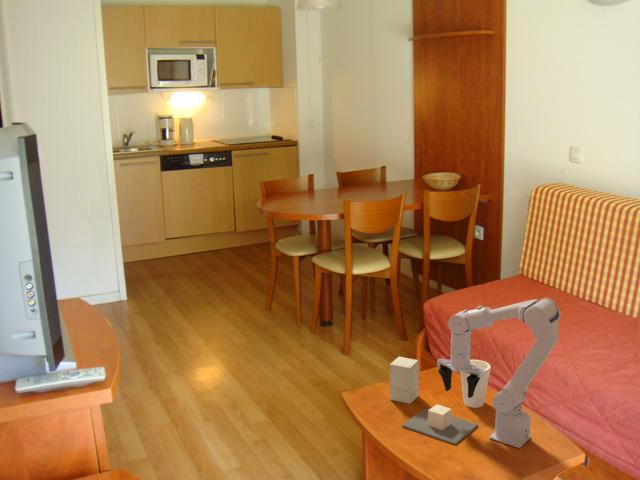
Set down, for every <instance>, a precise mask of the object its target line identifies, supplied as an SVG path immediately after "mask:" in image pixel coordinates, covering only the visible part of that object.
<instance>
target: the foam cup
mask: <svg viewBox="0 0 640 480" xmlns="http://www.w3.org/2000/svg"><path fill="white" fill-rule="evenodd" d="M470 364H471V365H473V366H475V367H477V368H480V369H483V370H484V376H483V377H481V378H480V380H479V381H478V383H477V385H476V388H475V391H474V395H473V396H472V397H471V398H468V383H467V377H468V376H470V374H468V373H464V372H460V371H459V373H460V380H461V391H462V398H463V404H464V405H465V406H467V407H468V408H473V409H474V408H475V409H477V408H481V407H483V406H484V405H485V400H486V394H487V391H488V390H487V389H488V383H489V378H490V375H491V364H490V363H488V362H487V361H484V360H480V359H470Z"/></svg>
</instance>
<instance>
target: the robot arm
mask: <svg viewBox="0 0 640 480" xmlns="http://www.w3.org/2000/svg"><path fill="white" fill-rule="evenodd" d="M561 316H562V313H561V312H560V308H559V306H558V304H557V303H556V302H555V301H554V300H553V299H552V298H549V297H544V298H541V299H539V298H538V299H535V298H534V299H530V300H525V301H521V302H517V303H514V304H510V305H509V304H508V305H506V306H502V307H498V308H494V309H492V308H491V307H489V306H483V305H478V306H477V307H476V308H474V309H470V310H468V309H467V308H466V309H464V310H461V311H459V312H457V313H455V314H454V315H452V316H450V317H449V319H448V322H447V326H448V329H449V330H450V359H446V358H439V359H437V362H436V365H437V367H439V369H438V374H439V375H440V377H441V379H442V381H443V385H444V390H445V392H448V391H450V390H451V389H452V375H453V372H454V373H458V372H459V373H460V372H464V373H468V374H470V376H468V377H467V383H468V398H471V397H472V396H473V395H474V391H475V388H476V385H477V383H478V381H479V380H480V378H481V377H483V376H484V370H483V369H480V368H477V367H475V366H473V365H471V364H470V360H471V345H472V344H471V342H472V341H471V340H472V338H471V337H472V331H475V330H480V329H484V328H489V327H492V326H493V325H494V323H495V322H496V321H497V322H499V321H502V320H503V321H505V320H509V319H515V318H517V320H519V321H520V322H521V323H524V322H525V324H526V326H527V327H528V328H529V330H530V331H531V333H532V335H534V337H535V339H536V340H535V342H534V343H533V345H532V347H531V348H530V350H529V351H528V352H527V354H526V355H525V357H524V359H523V360H522V361H521V362H520V364H519V366H518V368H517V369H516V371H515V372H514V374H513V375H512V377H511V379H510V380H509V381H508V382H507V384H505V386H503V388H502V390H500V391H499V392H497V393H495V394H494V395H493V398H492V405H493V408H494V409H495V421H494V422H495V425H494V427H495V428H494V432H493V433H491V435H489V439H491V440H493V441H496V442H499V443H502V444H505V445H509V446H512V447H514V448H516V449H517V448H518V449H520V448H521V447H523V445H524V444H526V443H527V441H529V440H530V438H531V437H532V436H531V435H530V434H531V421H532V419H531V415H530V414H528V413H527V412H525V411H524V410H523V408H522V403H523V402H524V401H525V400H526V397H527V391H528V389H529V385H530V384H531V382H532V381H533V379H534V377H535V376H536V375H537V373H538V372H539V370H540V369H541V368H542V366H543V364H544V363H545V361H546V360H547V358H548V357H549V356H550V354H551V352H552V351H553V349H554V348H555V346H557V344H558V342H559V339H560V320H561Z"/></svg>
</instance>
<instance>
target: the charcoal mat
mask: <svg viewBox="0 0 640 480" xmlns="http://www.w3.org/2000/svg"><path fill="white" fill-rule="evenodd" d="M429 409H430V408H427V407H426V408H424V409H422V410H421V411H419V412H418V413H416V414H415V415H414V416H411V418H410V419H408V420H406V421H405V422H404V423H402V424H401V427H402V428H405V429H407V430H410V431H413V432H416V433H418V434H419V433H420V434H422V435H425V436H427V437H430V438H433V439H436V440H439V441H442V442H445V443H447V444H451V445H454V446H456V445H457V444H459V443H460V442H461V441H463V440H464V439H465V438H466V437H467V436H468V435H469V434H471V433H472V432H473V431H474V430H476V429H477V427H478V426H479V425H478V423H475V422H472V421H468V420H466V419H463V418H459V417H457V416H453V415H451V425H449V426H448V427H447V428H445V429H444V430H440V429H437V428H434V427H431V426H428V410H429Z"/></svg>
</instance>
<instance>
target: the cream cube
mask: <svg viewBox="0 0 640 480" xmlns="http://www.w3.org/2000/svg"><path fill="white" fill-rule="evenodd" d="M428 409H429V410H428V426H431V427H434V428H437V429H440V430H444V429H445V428H447V427H448V426H449V425H451V416H452V408H450V407H446V406H444V405H441V404H435V405H433V406H432V407H431V408H428Z"/></svg>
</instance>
